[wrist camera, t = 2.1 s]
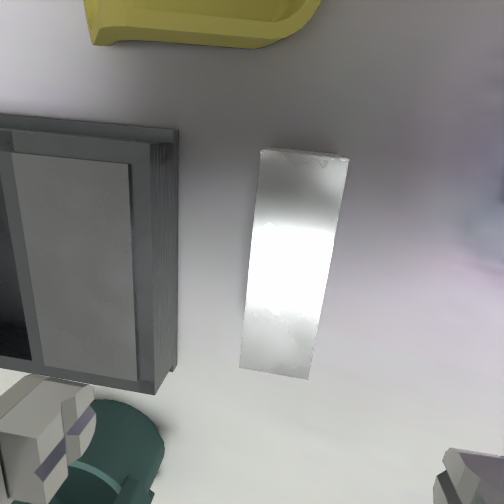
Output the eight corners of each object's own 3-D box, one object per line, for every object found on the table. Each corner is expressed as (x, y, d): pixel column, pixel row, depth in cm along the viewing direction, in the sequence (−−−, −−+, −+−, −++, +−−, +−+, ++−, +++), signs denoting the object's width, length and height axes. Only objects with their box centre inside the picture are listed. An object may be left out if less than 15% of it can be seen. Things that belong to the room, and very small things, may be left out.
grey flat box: (-44, 110, 20) (-134, 102, 16) (178, 129, 18) (143, 127, 14) (2, 335, 25) (-57, 373, 21) (176, 364, 24) (150, 411, 20)
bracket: (56, 447, 29) (-44, 575, 20) (91, 378, 25) (-11, 496, 17) (146, 495, 29) (84, 639, 21) (191, 433, 26) (140, 575, 18)
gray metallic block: (271, 147, 18) (260, 149, 14) (336, 153, 18) (349, 158, 13) (252, 318, 22) (239, 367, 17) (306, 327, 22) (307, 379, 17)
